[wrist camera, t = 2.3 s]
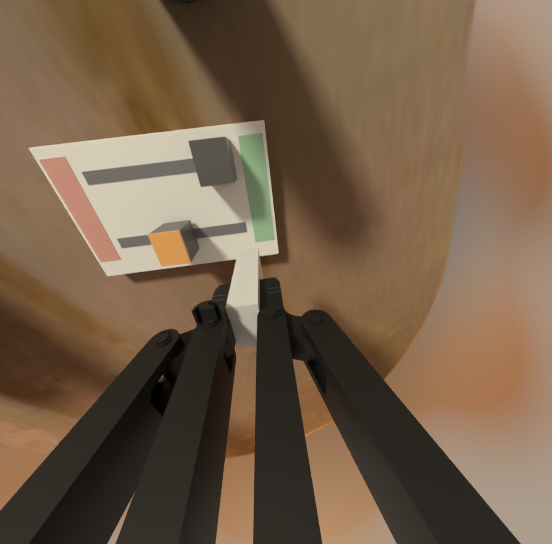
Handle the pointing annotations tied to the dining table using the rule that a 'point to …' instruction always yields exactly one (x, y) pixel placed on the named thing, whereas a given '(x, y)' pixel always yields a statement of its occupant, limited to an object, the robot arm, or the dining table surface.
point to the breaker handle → (174, 243)
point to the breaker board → (167, 192)
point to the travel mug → (185, 0)
